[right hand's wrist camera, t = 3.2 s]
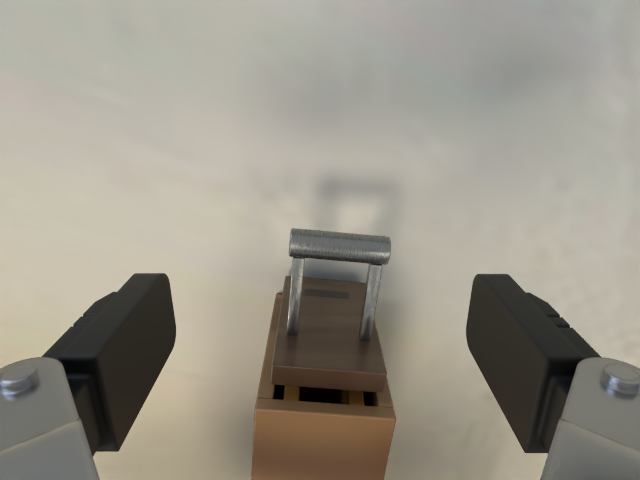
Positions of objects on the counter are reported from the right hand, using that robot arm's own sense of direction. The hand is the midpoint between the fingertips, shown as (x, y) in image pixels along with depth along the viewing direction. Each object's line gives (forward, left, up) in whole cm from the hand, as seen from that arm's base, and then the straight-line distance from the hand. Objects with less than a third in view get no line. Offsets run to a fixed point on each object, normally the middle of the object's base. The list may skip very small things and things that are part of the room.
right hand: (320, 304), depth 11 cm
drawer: (-9, -9, -16) cm, 21 cm away
